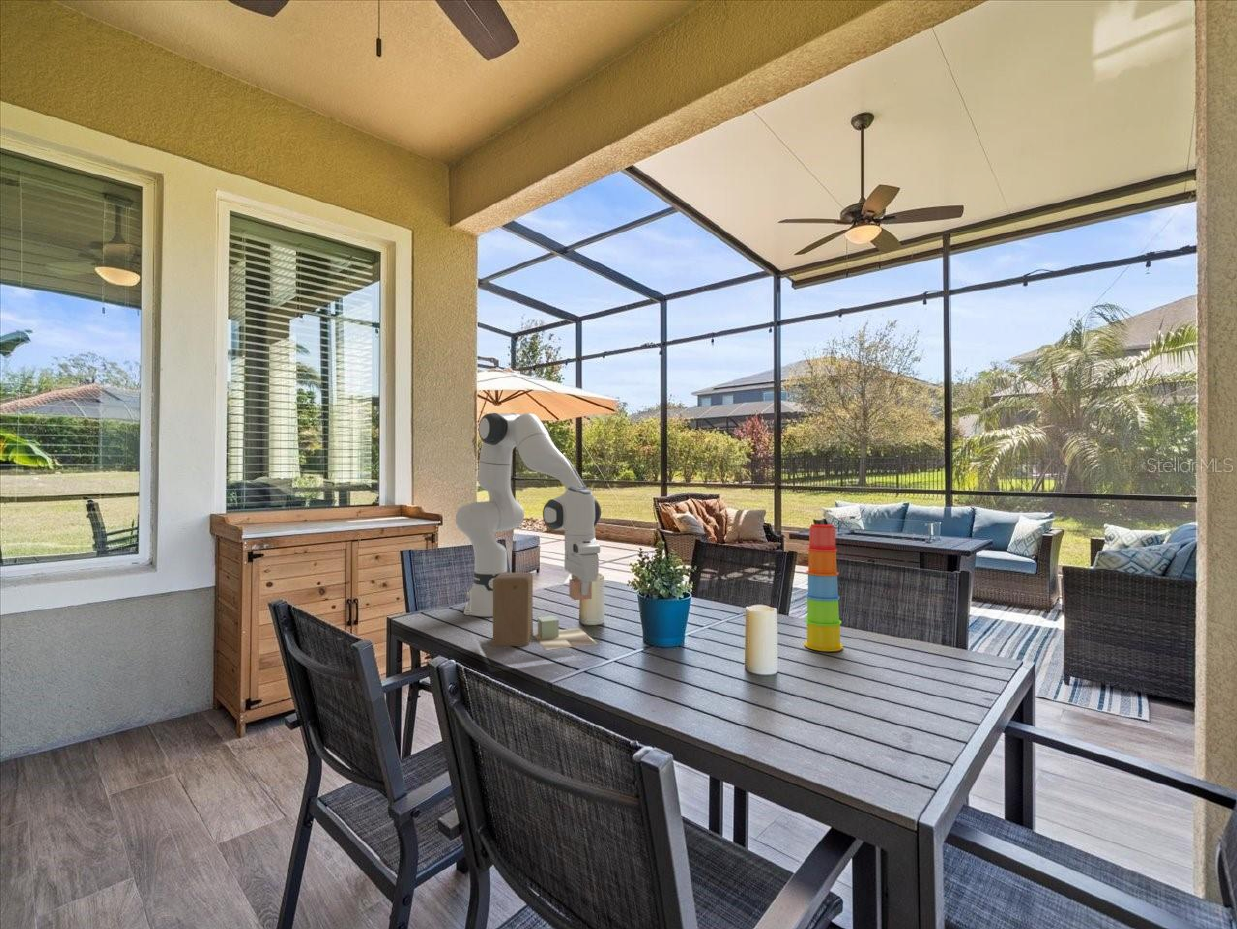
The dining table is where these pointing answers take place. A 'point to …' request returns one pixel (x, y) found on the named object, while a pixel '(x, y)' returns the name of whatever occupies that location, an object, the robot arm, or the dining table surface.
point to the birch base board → (566, 639)
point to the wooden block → (512, 609)
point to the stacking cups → (822, 590)
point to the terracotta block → (578, 590)
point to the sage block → (548, 627)
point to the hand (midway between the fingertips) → (580, 592)
